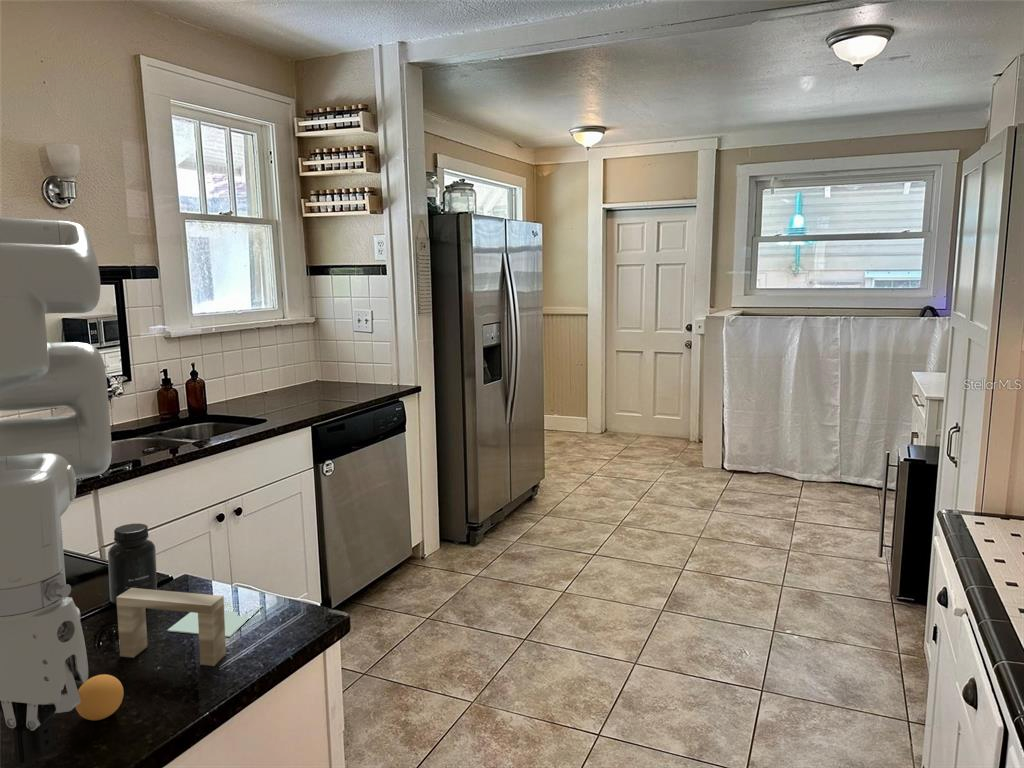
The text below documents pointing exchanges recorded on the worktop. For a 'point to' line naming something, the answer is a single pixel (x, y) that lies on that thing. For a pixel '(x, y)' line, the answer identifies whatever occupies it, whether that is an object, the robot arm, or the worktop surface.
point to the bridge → (205, 605)
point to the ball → (100, 697)
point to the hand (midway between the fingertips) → (35, 755)
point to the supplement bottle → (131, 560)
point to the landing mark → (231, 619)
